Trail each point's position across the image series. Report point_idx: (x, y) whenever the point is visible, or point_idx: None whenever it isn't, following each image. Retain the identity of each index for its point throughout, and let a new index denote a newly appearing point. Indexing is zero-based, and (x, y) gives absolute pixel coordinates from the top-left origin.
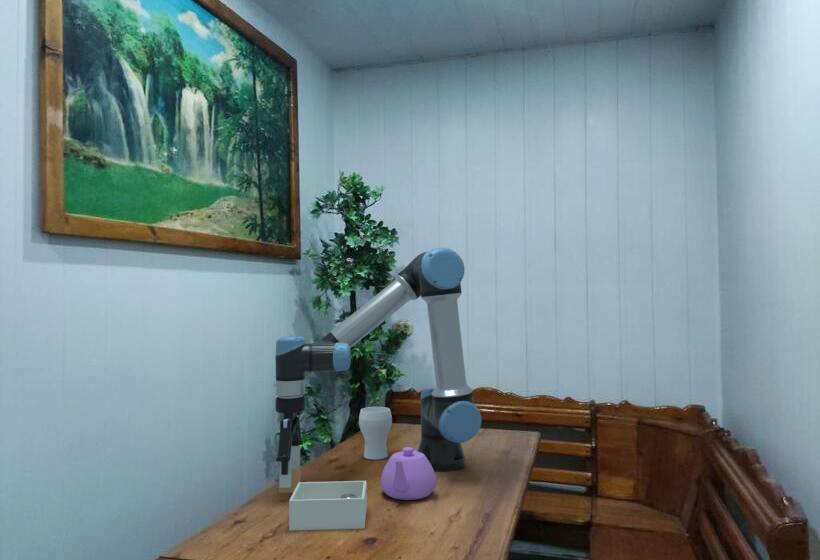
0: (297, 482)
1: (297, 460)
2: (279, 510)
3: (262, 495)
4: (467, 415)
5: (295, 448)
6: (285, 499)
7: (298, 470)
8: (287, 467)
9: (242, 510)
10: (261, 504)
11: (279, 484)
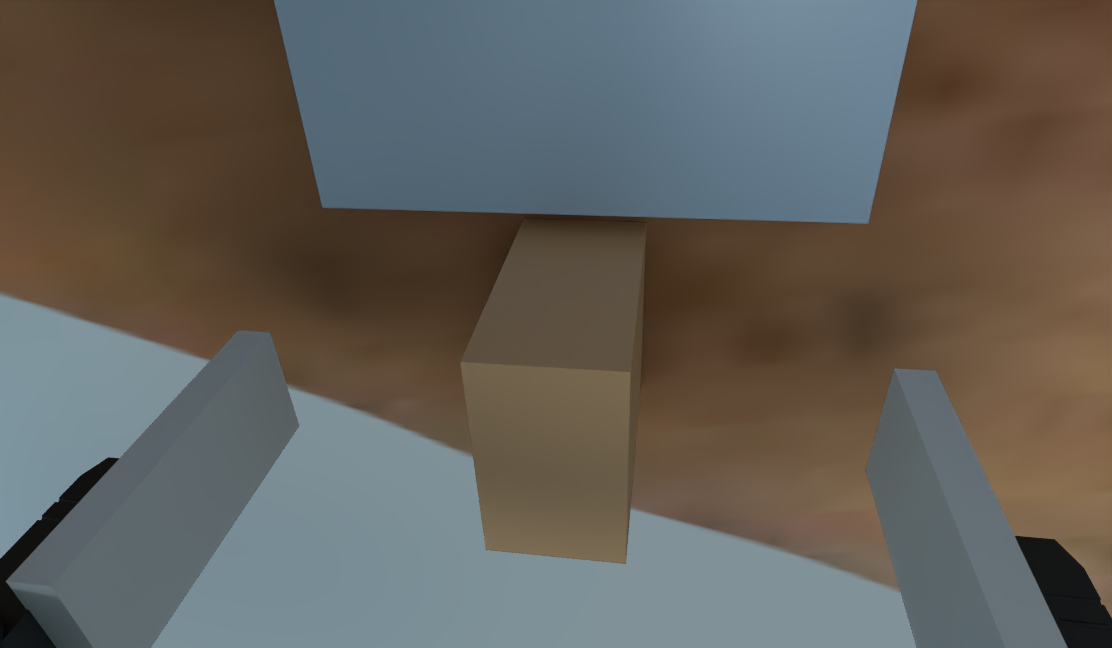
0: (638, 305)
1: (211, 438)
2: (1044, 343)
3: None
4: None
5: (106, 602)
6: (736, 326)
7: (552, 379)
8: (1085, 637)
9: None
10: (825, 482)
11: (634, 457)
